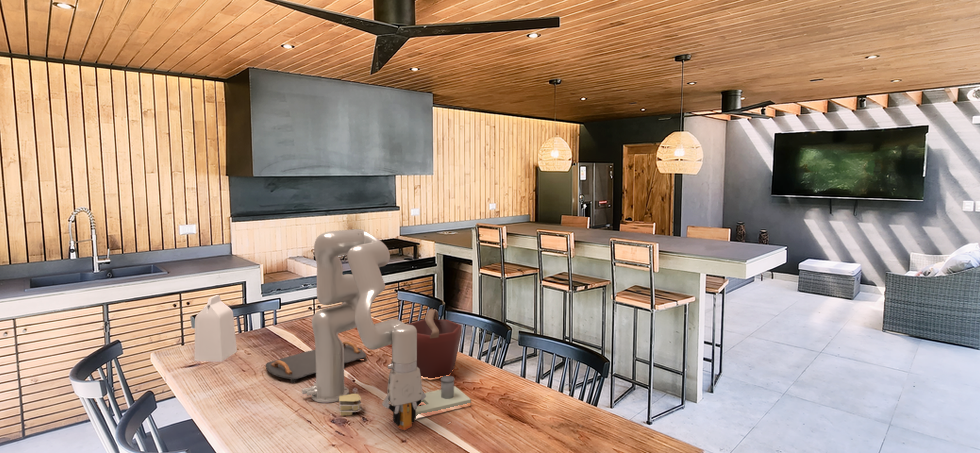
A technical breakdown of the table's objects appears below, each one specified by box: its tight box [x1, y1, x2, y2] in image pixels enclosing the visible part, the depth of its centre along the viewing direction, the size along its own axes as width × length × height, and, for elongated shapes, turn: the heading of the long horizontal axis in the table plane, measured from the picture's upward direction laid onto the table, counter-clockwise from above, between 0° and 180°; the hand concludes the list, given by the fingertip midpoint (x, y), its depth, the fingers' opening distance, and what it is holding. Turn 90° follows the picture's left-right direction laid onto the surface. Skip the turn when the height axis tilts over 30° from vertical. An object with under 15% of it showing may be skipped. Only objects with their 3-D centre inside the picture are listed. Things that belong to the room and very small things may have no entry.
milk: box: [194, 294, 238, 363], centre depth 212 cm, size 12×12×26 cm
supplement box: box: [397, 403, 413, 431], centre depth 155 cm, size 3×3×10 cm
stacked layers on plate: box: [338, 393, 362, 417], centre depth 164 cm, size 10×9×6 cm
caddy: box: [415, 375, 472, 419], centre depth 169 cm, size 22×12×9 cm, turn 120°
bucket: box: [407, 309, 463, 378], centre depth 198 cm, size 24×22×25 cm
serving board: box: [265, 341, 367, 384], centre depth 205 cm, size 39×23×6 cm, turn 140°
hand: (404, 421), depth 155 cm, fingers closed on supplement box, 4 cm apart
